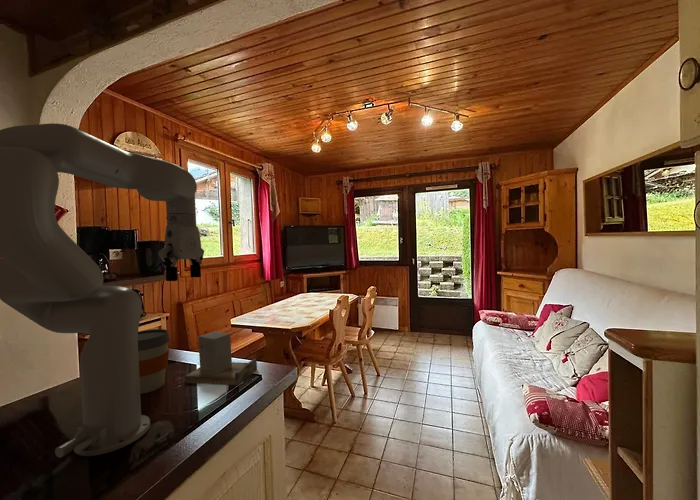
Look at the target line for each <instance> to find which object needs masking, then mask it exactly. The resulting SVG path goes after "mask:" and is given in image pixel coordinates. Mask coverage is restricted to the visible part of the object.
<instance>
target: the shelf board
mask: <svg viewBox="0 0 700 500" xmlns="http://www.w3.org/2000/svg"><path fill="white" fill-rule="evenodd" d="M257 360H258V359H257V358H253V359H251V360H250V361H249V362H239V361H237V362H235V361H234V362H233V361H232V367H231V368H229V369H227V370H225V371H222V372H220V373H218V374H215V373H211V372H207V371H203V370H200V367H198V368H197V369H195V370H193V371H191V372H190V373H187V374H186V375H185V376H184V378H185V383H186V384H198V385H199V384H201V385H202V384H203V385H205V384H206V385H220V386H222V385H224V386H239V385H240V384H241V383H243V382H244V381H245V380H246V379H248V378H249V377H250V376H251V375H252V374H254V373H255V372H256V371H257V370H258V363H257V362H258V361H257Z"/></svg>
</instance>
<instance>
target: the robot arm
mask: <svg viewBox="0 0 700 500" xmlns="http://www.w3.org/2000/svg"><path fill="white" fill-rule="evenodd" d="M59 173H63V174H69V175H72V176H75V177H78V178H82V179H86V180H88V181H91V182H95V183H98V184H102V185H105V186H107V187H111V188H114V189H115V188H116V189H125V190H136V191H137V192H138V194H139V195H140V196H141V197H142V198H144V199H146V200H148V201H152V202H165V206H166V208H165V209H166V216H165V217H166V218H165V219H166V224H167V225H166V226H165V235H164V247H162V248H160V250H158V251H157V254H158V257H159V258H160V262H161V263H162V264H163V265H162V266H163V267H164V268H165V280H166V282H176V281H178V280H179V279H178V266H176V265H177V263H178V261H179V260H188V261H189V262H190V265H189V270H190V278H201V277H202V271H201V270H202V269H201V265H202V264H203V263H202V262H203V259H204V255H205V249H203V248H202V241H201V234H200V230H199V227H198V226H197V211H196V194H197V190H198V185H197V181H196V178H195V177H194V176H193V175H192V174H191V172H189V171H188V170H187V169H185V168H184V167H181V166H179V165H178V164H175V163H172V162H170V161H167V160H163V159H159V158H154V157H150V156H146V155H143V154H139V153H134V152H129V151H127V150H123V149H122V148H119V147H117V146H115V145H114V144H113V145H112V144H110V143H108V142H106V141H104V140H102V139H99V138H98V137H96V136H94V135H92V134H90V133H87V132H85V131H83V130H81V129H79V128H77V127H74V126H72V125H67V124H62V123H54V122H51V123H40V124H38V123H37V124H26V125H25V124H24V125H15V126H9V127H5V128H2V129H0V300H1V301H2V302H3V303H4V304H6V305H7V306H9V307H10V308H12V309H13V310H15V311H16V312H18V313H19V314H20V315H23V317H25V318H28V319H29V320H31V321H32V322H33V323H35V324H37V325H38V326H40V327H42V328H44V329H46V330H47V331H50V332H53V333H57V334H89V336H88V337H87V338H88V339H87V340H86V342H85V344H84V346H83V348H82V350H81V353H80V357H79V358H80V359H79V370H80V371H79V373H80V387H81V388H80V390H81V405H82V406H81V407H82V409H81V410H82V425H80V426H79V427H77V429H76V432H77V434H75V435H74V436H73V438H71V439H70V440H68V441H66V442H64V443H62V444H61V445H59V446H57V447H56V448H55V450H54V453H55V456H56V457H57V458H63V457H64V456H66V455H68V454H69V453H71V452H72V451H73V452H74V454H76V455H77V456H80V457H95V456H100V455H106V454H108V453H112V452H114V451H117V450H120V449H122V448H125V447H126V446H128V445H131V444H133V443H134V442H136V441H137V440H139V439H140V438H141V437H143V436H144V435H145V434H146V433H147V432H148V430H149V429H150V427H151V419H150V417H149V416H147V415H145V414H142V407H141V406H142V404H141V403H142V402H141V394H140V379H139V359H138V332H139V328H140V321H141V316H142V311H143V310H142V309H143V308H142V307H143V303H142V299H141V297H140V295H139V294H138V293H137V292H136V291H135V290H134V289H131V288H129V287H126V286H121V285H120V286H119V285H103V284H104V274H103V272H102V270H101V267H99V265H98V264H97V263H96V262H95V261H94V260H93V259H92V258H91V256H89V255H88V254H87V252H85V251H84V250H83V249H82V248H81V247H80V246H79V245H78V244H77V242H75V241H74V240H73V239H72V238H71V237H70V236H69V235H68V234H67V232H65V231H64V229H63V228H62V227H61V226H60V224H59V222H58V221H57V218H56V210H55V209H56V199H57V195H58V190H59V184H60V179H59V178H60V177H59Z"/></svg>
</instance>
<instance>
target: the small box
mask: <svg viewBox="0 0 700 500" xmlns="http://www.w3.org/2000/svg"><path fill="white" fill-rule="evenodd" d="M197 339H198V340H197V341H198V356H199V357H198V358H199V368H200V370H203V371H207V372H211V373H215V374H218V373H220V372H222V371H225V370H227V369H229V368H231V367H232V362H233V360H232V359H233V358H232V356H233V355H232V345H231V344H232V343H231V334H230V333H226V332H218V331H211V332H209V333H204V334H202V335H198V337H197Z"/></svg>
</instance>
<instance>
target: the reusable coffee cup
mask: <svg viewBox="0 0 700 500" xmlns="http://www.w3.org/2000/svg"><path fill="white" fill-rule="evenodd" d="M169 342H170V336H169V331H168V330H167V329H165V328H164V329H162V328H157V329H156V328H155V329H145V330H138V359H139V379H140V395H143V394H147V393H150V392H155V391H157V390H158V389H160V388H161V387H163V386H164V385H165V379H166V368H167V367H168V365H169V356H170V355H169V352H170V350H169V349H168V347H169Z"/></svg>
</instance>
